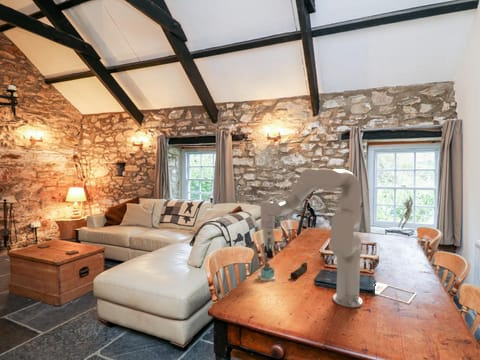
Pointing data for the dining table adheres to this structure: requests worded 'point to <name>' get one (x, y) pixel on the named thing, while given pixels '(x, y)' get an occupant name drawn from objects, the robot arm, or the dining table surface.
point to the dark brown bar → (299, 271)
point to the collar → (267, 273)
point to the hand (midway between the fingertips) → (268, 255)
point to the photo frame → (381, 287)
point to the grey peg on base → (267, 267)
